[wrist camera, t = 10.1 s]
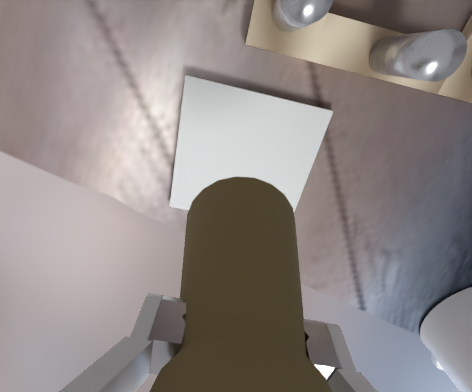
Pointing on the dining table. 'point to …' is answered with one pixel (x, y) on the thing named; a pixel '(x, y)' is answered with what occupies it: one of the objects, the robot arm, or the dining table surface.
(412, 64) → the steel spacers
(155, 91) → the dining table surface
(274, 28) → the board
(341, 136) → the dining table surface
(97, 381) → the robot arm
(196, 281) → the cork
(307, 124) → the mat
